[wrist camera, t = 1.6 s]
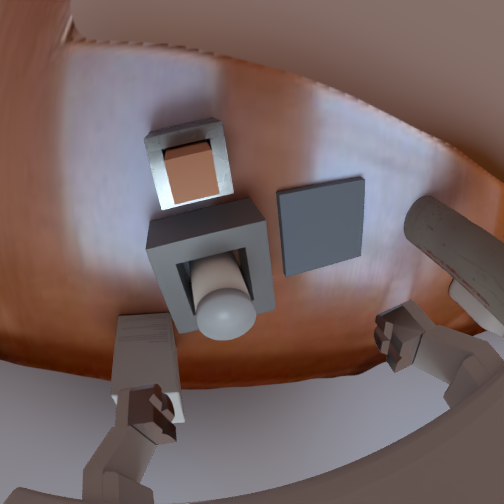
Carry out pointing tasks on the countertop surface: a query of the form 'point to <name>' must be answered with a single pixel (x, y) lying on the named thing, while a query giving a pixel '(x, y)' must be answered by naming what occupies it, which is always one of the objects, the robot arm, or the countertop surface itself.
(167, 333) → the supplement box
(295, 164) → the countertop surface
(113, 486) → the robot arm
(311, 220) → the mat
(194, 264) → the cylinder
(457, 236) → the thermos bottle
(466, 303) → the milk bottle
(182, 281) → the housing
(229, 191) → the frame
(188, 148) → the plunger
